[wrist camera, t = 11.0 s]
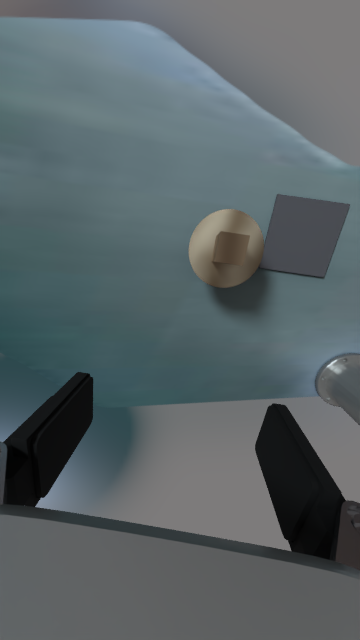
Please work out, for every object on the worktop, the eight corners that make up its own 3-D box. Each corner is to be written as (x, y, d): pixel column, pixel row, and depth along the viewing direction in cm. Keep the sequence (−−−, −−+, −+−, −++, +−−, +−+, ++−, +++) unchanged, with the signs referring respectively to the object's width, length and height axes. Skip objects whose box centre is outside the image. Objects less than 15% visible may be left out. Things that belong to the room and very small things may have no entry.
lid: (271, 216, 28) (290, 205, 23) (251, 292, 31) (264, 298, 26) (195, 205, 28) (196, 191, 23) (183, 281, 32) (181, 285, 26)
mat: (348, 205, 33) (350, 204, 32) (322, 277, 36) (324, 277, 36) (277, 194, 33) (277, 194, 33) (258, 267, 37) (259, 267, 36)
